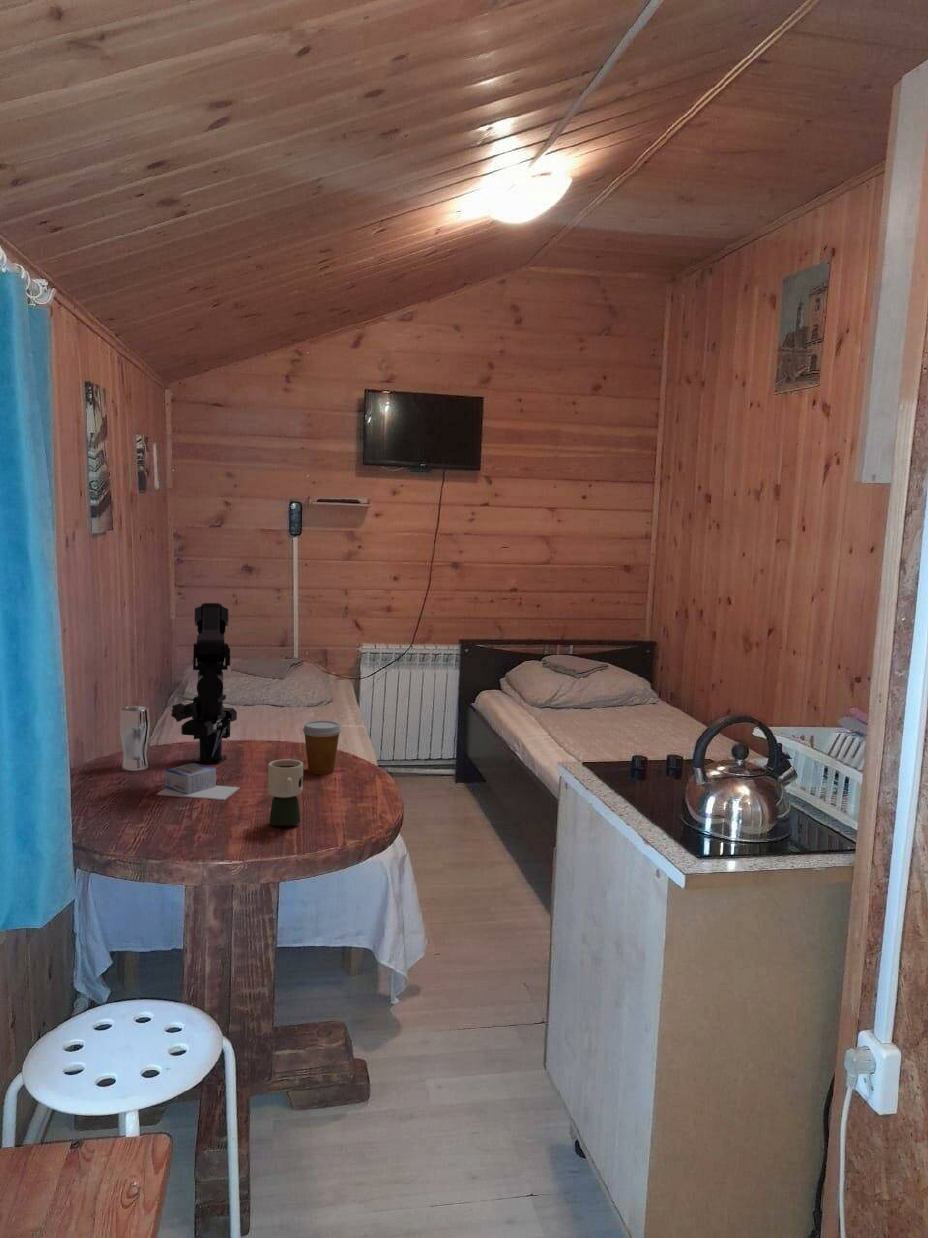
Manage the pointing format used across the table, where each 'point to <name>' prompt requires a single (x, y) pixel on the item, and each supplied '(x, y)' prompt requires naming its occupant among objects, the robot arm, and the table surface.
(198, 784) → the medicine box
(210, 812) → the table surface
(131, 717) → the beer glass
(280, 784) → the character mug
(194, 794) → the mat
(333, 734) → the disposable coffee cup
